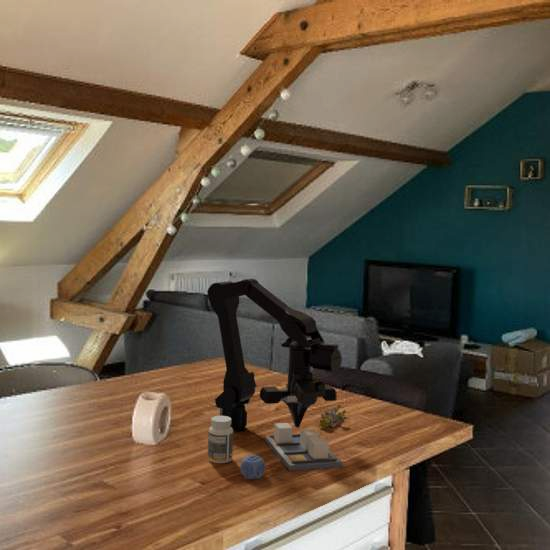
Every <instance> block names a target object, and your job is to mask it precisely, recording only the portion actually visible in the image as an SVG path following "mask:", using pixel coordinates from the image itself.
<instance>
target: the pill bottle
mask: <svg viewBox="0 0 550 550" xmlns="http://www.w3.org/2000/svg"><path fill="white" fill-rule="evenodd" d="M210 423H211V426H210V427H209V429H208V432H207V433H208V439H207V440H208V442H207V447H208V448H207V459H208V461H210V462H211V463H214V464H226V463H230V462H231V461H232V460H233V449H234V448H233V446H234V431H233V429H232V428H231V427H230V425H231V418H230V417H228V416H220V415H216V416H212V417H211V421H210Z"/></svg>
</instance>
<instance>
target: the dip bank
mask: <svg viewBox="0 0 550 550" xmlns="http://www.w3.org/2000/svg"><path fill="white" fill-rule="evenodd" d="M300 434H301V433H292V442H287V443H278V442H277V441H276V440H275V438H274V434H273V435H264V436H263V438H264V439H263V441H265V443H266V444H267V445H268V446H269V447H270V448H269V449H271V450H272V451H273V453H274V454H275V455H276V456H277V458H278V459H279V460H280V461H281V463H283V465H284V467H286V468H287V470H288V472H289V471H303V470H304V471H305V470H316V469H318V470H319V469H330V468H342V467H343V466H344V463H343V461H342V460H341V459H340V458H339V457H338V456H337V455H335V453H333V451H331V450H330V449H329V448H328V458H324V459H313V458H312V457H311V456H310V455H309V454H308V450H305V449H304V448H303V447H302V446H301V445H300Z"/></svg>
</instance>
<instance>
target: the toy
mask: <svg viewBox="0 0 550 550" xmlns="http://www.w3.org/2000/svg"><path fill="white" fill-rule="evenodd" d="M340 408H342V406H341V404H338V405H337V406H334V407H333V408H332V409H331V410H329V409H326V410H324V411H323V412H322V413H321V414H320V417H321V419H320V420H319V422H320V424H318V427H321V430H323V429H324V428H325V429H328V428H329V427H331V428H335V427H336V426H338V424H339V423H342V422H343V421H344V418H345V415H344V414H346V412H347V410H345V409H343V410H342V412H341V411H339V410H340Z"/></svg>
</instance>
